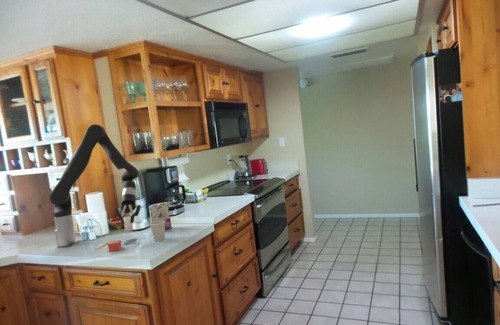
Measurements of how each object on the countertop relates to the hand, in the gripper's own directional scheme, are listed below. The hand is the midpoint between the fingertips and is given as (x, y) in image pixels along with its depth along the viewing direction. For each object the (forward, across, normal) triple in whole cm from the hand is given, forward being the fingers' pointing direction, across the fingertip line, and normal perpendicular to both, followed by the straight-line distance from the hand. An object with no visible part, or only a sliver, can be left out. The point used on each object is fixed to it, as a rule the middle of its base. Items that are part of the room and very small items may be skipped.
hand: (127, 222), depth 183 cm
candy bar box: (-7, +14, +24) cm, 29 cm away
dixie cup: (+8, +15, +10) cm, 20 cm away
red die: (+15, -6, +2) cm, 16 cm away
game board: (+8, -7, +9) cm, 14 cm away
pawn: (+2, 0, +4) cm, 5 cm away
